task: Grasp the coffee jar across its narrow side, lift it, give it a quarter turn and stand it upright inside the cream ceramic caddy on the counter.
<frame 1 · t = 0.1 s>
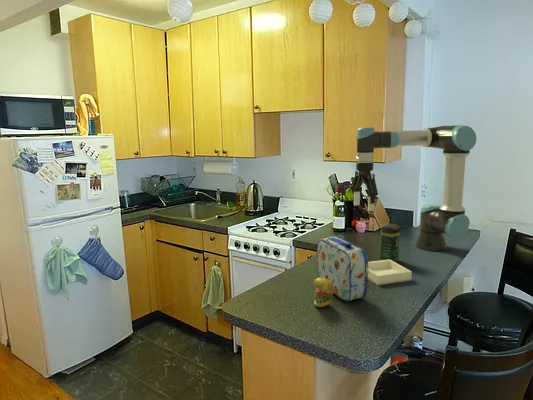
hand: (363, 207, 176), 28 cm above the worktop, fingers open, 13 cm apart
coffee jar: (389, 261, 185), on the worktop
lunch box: (341, 292, 152), on the worktop
caddy: (383, 275, 167), on the worktop
hamburger: (323, 306, 140), on the worktop
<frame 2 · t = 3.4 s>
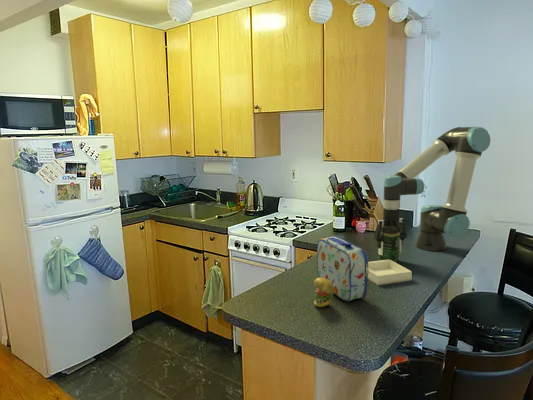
hand: (389, 253, 185), 4 cm above the worktop, fingers closed on coffee jar, 9 cm apart
coffee jar: (389, 261, 185), on the worktop, touching gripper
everything else where it was.
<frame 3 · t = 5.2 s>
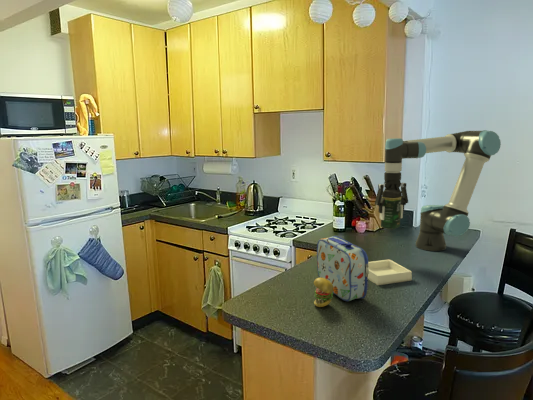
hand: (391, 218, 181), 21 cm above the worktop, fingers closed on coffee jar, 9 cm apart
coffee jar: (390, 227, 182), point 17 cm above the worktop, touching gripper
everything else where it was.
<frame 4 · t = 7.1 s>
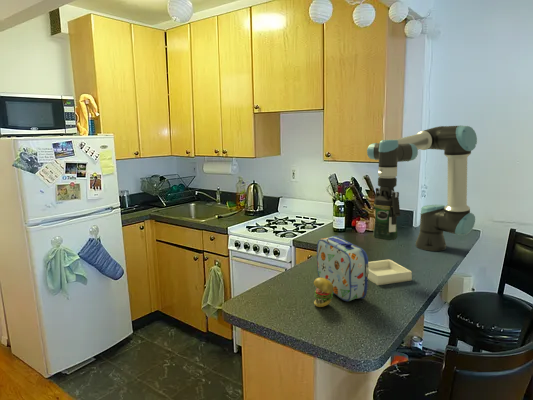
hand: (385, 228, 163), 21 cm above the worktop, fingers closed on coffee jar, 9 cm apart
coffee jar: (385, 238, 164), point 17 cm above the worktop, touching gripper
everything else where it was.
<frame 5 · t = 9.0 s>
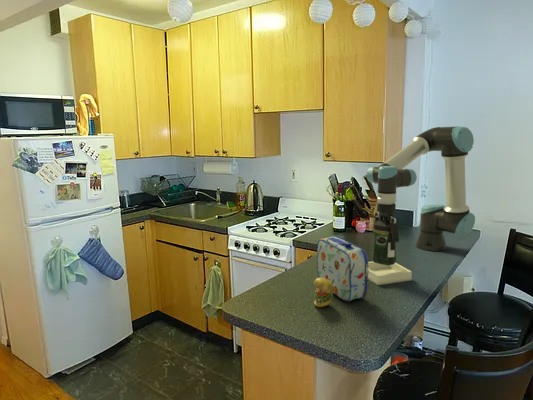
hand: (384, 253, 165), 10 cm above the worktop, fingers closed on coffee jar, 9 cm apart
coffee jar: (384, 262, 166), point 6 cm above the worktop, touching gripper
everything else where it was.
when the fingers open (6 cm above the worktop, at t = 10.8 s): coffee jar drops 1 cm, resting on caddy.
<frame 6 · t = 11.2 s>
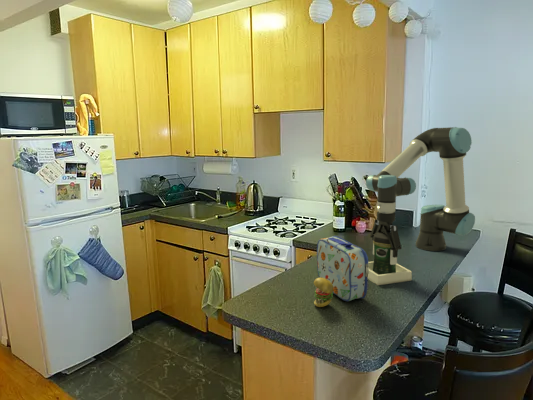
hand: (384, 259, 166), 8 cm above the worktop, fingers open, 13 cm apart
coffee jar: (383, 274, 167), point 1 cm above the worktop, touching caddy
everything else where it was.
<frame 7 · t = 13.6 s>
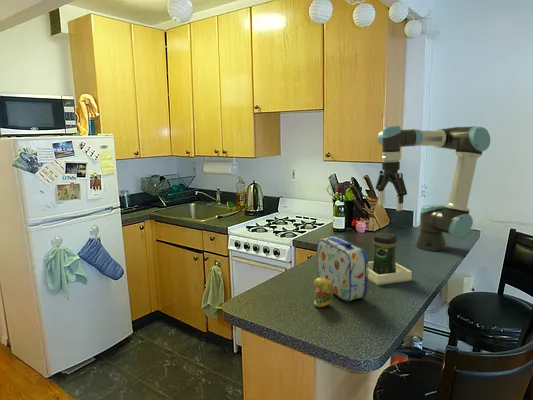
hand: (390, 207, 174), 28 cm above the worktop, fingers open, 13 cm apart
nothing on the worktop moved.
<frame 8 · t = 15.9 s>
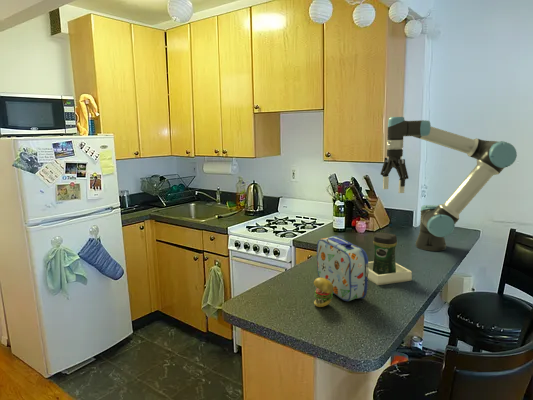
hand: (393, 191, 192), 33 cm above the worktop, fingers open, 13 cm apart
nothing on the worktop moved.
at the end: coffee jar inside the target area on the caddy (0.2 cm from its centre), point 0.6 cm above the caddy's base; coffee jar tilted 0°; the gripper is holding nothing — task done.
